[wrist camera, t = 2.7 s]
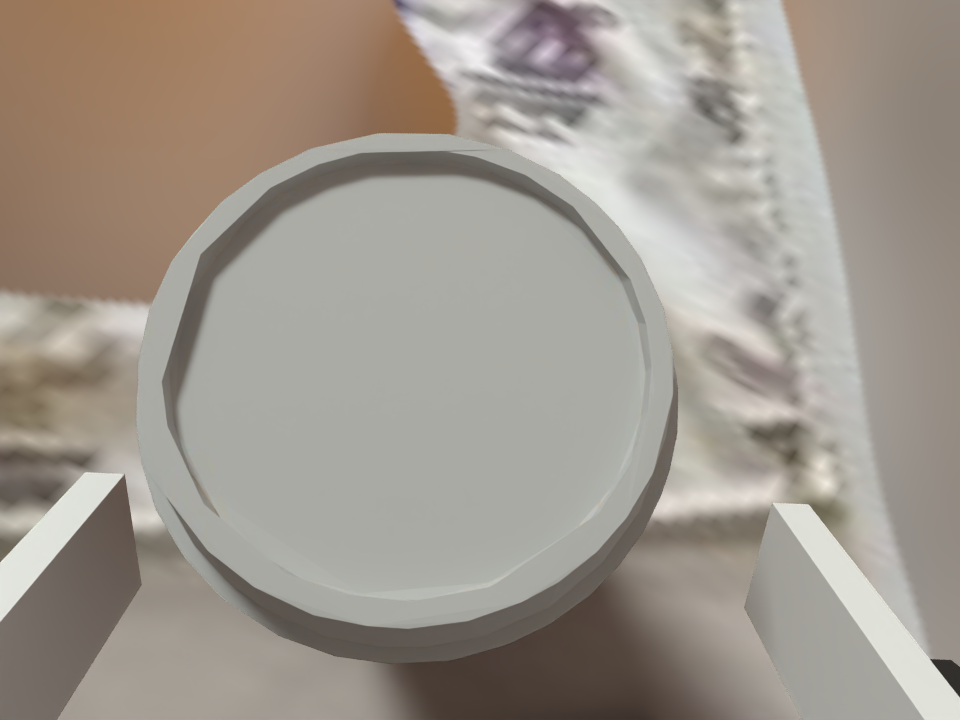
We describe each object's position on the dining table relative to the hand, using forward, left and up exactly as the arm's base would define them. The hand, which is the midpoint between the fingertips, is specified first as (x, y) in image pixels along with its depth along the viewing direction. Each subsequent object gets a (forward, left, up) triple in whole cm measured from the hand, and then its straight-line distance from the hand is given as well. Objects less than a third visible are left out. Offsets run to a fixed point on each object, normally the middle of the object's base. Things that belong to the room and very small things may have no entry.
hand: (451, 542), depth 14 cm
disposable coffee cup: (-3, 0, -8) cm, 8 cm away
